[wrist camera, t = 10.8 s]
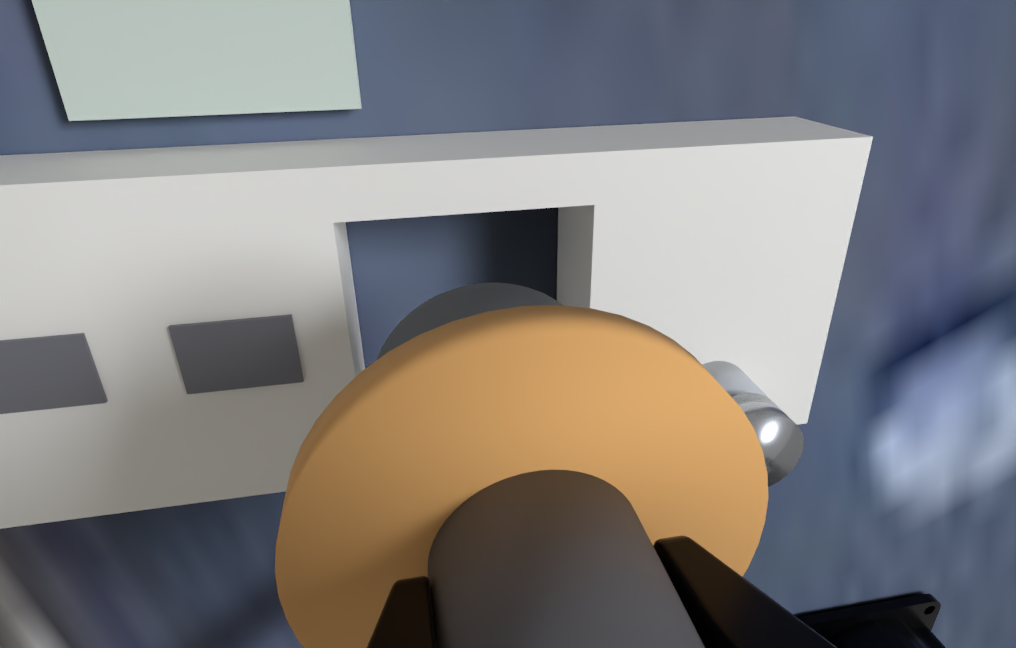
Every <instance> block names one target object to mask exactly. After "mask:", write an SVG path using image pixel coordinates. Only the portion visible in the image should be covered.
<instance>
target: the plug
mask: <svg viewBox="0 0 1016 648" xmlns="http://www.w3.org/2000/svg"><path fill="white" fill-rule="evenodd" d="M767 503H768V474H767V469H766V464H765V459H764V454H763V450H762V447H761V445H760V442H759V440H758V437H757V435H756V432H755V430H754V428H753V426H752V425H751V423H750V421H749V420H748V418H747V416H746V415H745V413H744V412H743V410H742V408H741V407H740V406H739V405H738V404H737V403H736V402H735V400H734V399H733V398H732V397H731V396H730V395H729V394H728V393H727V392H726V391H725V389H724V388H723V387H722V386H721V385H720V384H719V383H718V382H717V381H716V380H715V378H714V377H713V376H712V375H711V374H710V373H709V372H708V371H707V370H706V369H705V368H704V366H703V365H702V364H701V363H700V362H699V361H698V360H697V359H696V358H695V357H694V356H693V355H692V354H691V353H690V352H688V351H687V350H686V349H685V348H683V347H682V346H681V345H679V344H678V343H677V342H676V341H674V340H673V339H671V338H670V337H668V336H666V335H664V334H662V333H661V332H659V331H657V330H655V329H654V328H652V327H650V326H648V325H645V324H643V323H640V322H638V321H635V320H632V319H630V318H627V317H624V316H622V315H618V314H614V313H609V312H605V311H601V310H596V309H592V308H584V307H573V306H563V305H562V304H560V303H559V302H558V301H556V300H555V299H553V298H551V297H549V296H548V295H546V294H544V293H542V292H539V291H537V290H534V289H531V288H529V287H524V286H520V285H516V284H507V283H480V284H473V285H467V286H463V287H459V288H456V289H452V290H450V291H447V292H445V293H442V294H440V295H437V296H435V297H434V298H432V299H430V300H428V301H426V302H425V303H423V304H421V305H420V306H419V307H417V308H416V309H415V310H413V311H412V312H411V313H409V314H408V315H407V316H406V317H405V318H404V319H403V320H402V321H401V322H400V323H399V324H398V325H397V327H396V328H395V329H394V330H393V331H392V333H391V334H390V335H389V337H388V339H387V340H386V342H385V344H384V345H383V347H382V349H381V351H380V354H379V356H378V358H377V361H375V362H374V363H373V364H371V365H370V366H368V367H367V368H366V369H364V370H363V371H361V372H360V373H359V374H358V375H357V376H356V377H355V378H354V379H353V380H352V381H351V382H350V383H349V384H347V385H346V386H345V387H344V388H343V389H342V390H341V391H340V392H339V393H338V394H337V395H336V396H335V397H334V398H333V400H332V401H331V402H330V403H329V405H328V406H327V407H326V408H325V410H324V411H323V412H322V413H321V415H320V416H319V417H318V418H317V420H316V421H315V423H314V424H313V426H312V428H311V430H310V431H309V433H308V435H307V436H306V438H305V440H304V441H303V443H302V445H301V447H300V449H299V452H298V454H297V457H296V459H295V462H294V464H293V467H292V469H291V472H290V476H289V480H288V485H287V489H286V494H285V499H284V504H283V509H282V515H281V520H280V525H279V531H278V536H277V541H276V554H275V576H276V583H277V590H278V596H279V600H280V602H281V605H282V608H283V611H284V614H285V617H286V619H287V622H288V623H289V625H290V627H291V629H292V630H293V632H294V634H295V636H296V637H297V639H298V641H299V642H300V643H301V645H302V646H303V647H304V648H367V646H368V643H369V641H370V638H371V636H372V634H373V631H374V629H375V626H376V624H377V622H378V619H379V617H380V614H381V612H382V610H383V607H384V605H385V602H386V600H387V597H388V595H389V593H390V590H391V588H392V586H393V584H394V583H395V582H396V581H397V580H400V579H407V578H413V577H419V576H426V577H428V578H429V580H430V586H431V597H432V607H433V618H434V628H435V639H436V648H705V646H704V644H703V642H702V640H701V638H700V636H699V634H698V632H697V630H696V628H695V626H694V624H693V622H692V621H691V619H690V617H689V615H688V613H687V611H686V609H685V607H684V605H683V603H682V601H681V599H680V597H679V595H678V593H677V591H676V589H675V588H674V586H673V584H672V582H671V580H670V578H669V576H668V574H667V572H666V570H665V568H664V566H663V564H662V562H661V560H660V558H659V556H658V555H657V553H656V551H655V549H654V547H653V545H654V543H655V541H656V540H658V539H662V538H668V537H674V536H687V537H689V538H691V539H693V540H694V541H695V542H697V543H698V544H699V545H701V546H702V547H703V548H705V549H706V550H707V551H709V552H710V553H711V554H713V555H714V556H715V557H717V558H718V559H719V560H721V561H722V562H723V563H725V564H726V565H727V566H729V567H730V568H731V569H733V570H734V571H735V572H737V573H738V574H739V575H741V576H742V577H743V575H744V573H745V572H746V570H747V568H748V567H749V564H750V562H751V560H752V557H753V555H754V553H755V551H756V548H757V546H758V544H759V540H760V537H761V533H762V530H763V527H764V523H765V518H766V510H767Z"/></svg>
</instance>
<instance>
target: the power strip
mask: <svg viewBox="0 0 1016 648" xmlns="http://www.w3.org/2000/svg"><path fill="white" fill-rule="evenodd" d="M872 139H873V137H872V136H868V135H864V134H861V133H857V132H853V131H849V130H845V129H841V128H837V127H833V126H829V125H825V124H822V123H818V122H814V121H810V120H806V119H802V118H798V117H774V118H754V119H733V120H713V121H693V122H672V123H652V124H632V125H612V126H591V127H571V128H551V129H530V130H510V131H490V132H469V133H449V134H429V135H408V136H388V137H368V138H347V139H327V140H307V141H286V142H266V143H246V144H225V145H205V146H185V147H165V148H144V149H124V150H104V151H83V152H63V153H43V154H22V155H2V156H0V529H2V528H10V527H17V526H25V525H33V524H40V523H48V522H55V521H63V520H71V519H78V518H86V517H94V516H101V515H109V514H117V513H124V512H132V511H140V510H147V509H155V508H163V507H170V506H178V505H185V504H193V503H201V502H208V501H216V500H224V499H231V498H239V497H247V496H254V495H262V494H270V493H277V492H285V491H286V489H287V485H288V480H289V476H290V472H291V469H292V467H293V464H294V462H295V459H296V457H297V454H298V452H299V449H300V447H301V445H302V443H303V441H304V440H305V438H306V436H307V435H308V433H309V431H310V430H311V428H312V426H313V424H314V423H315V421H316V420H317V418H318V417H319V416H320V415H321V413H322V412H323V411H324V410H325V408H326V407H327V406H328V405H329V403H330V402H331V401H332V400H333V398H334V397H335V396H336V395H337V394H338V393H339V392H340V391H341V390H342V389H343V388H344V387H345V386H346V385H347V384H349V383H350V382H351V381H352V380H353V379H354V378H355V377H356V376H357V375H358V374H359V373H360V372H361V371H363V370H364V369H365V364H364V357H363V349H362V342H361V334H360V327H359V319H358V312H357V305H356V297H355V290H354V282H353V275H352V267H351V260H350V252H349V245H348V237H347V230H346V223H345V222H353V221H367V220H382V219H396V218H411V217H425V216H440V215H454V214H469V213H483V212H498V211H512V210H527V209H541V208H556V207H558V253H557V301H558V302H559V303H560V304H562V305H563V306H573V307H584V308H592V309H596V310H601V311H605V312H609V313H614V314H618V315H622V316H624V317H627V318H630V319H632V320H635V321H638V322H640V323H643V324H645V325H648V326H650V327H652V328H654V329H655V330H657V331H659V332H661V333H662V334H664V335H666V336H668V337H670V338H671V339H673V340H674V341H676V342H677V343H678V344H679V345H681V346H682V347H683V348H685V349H686V350H687V351H688V352H690V353H691V354H692V355H693V356H694V357H695V358H696V359H697V360H698V361H699V362H700V363H701V364H702V365H703V366H704V368H705V369H706V370H707V371H708V372H709V373H710V374H711V375H712V376H713V377H714V378H715V380H716V381H717V382H718V383H719V384H720V385H721V386H722V387H723V388H724V389H725V391H726V392H727V393H728V394H729V395H730V396H731V397H732V396H735V395H738V394H743V393H758V394H762V395H765V396H767V397H768V398H770V399H771V400H772V401H773V402H774V403H775V404H776V405H777V406H778V407H779V408H780V409H781V410H782V411H783V412H784V413H785V414H786V415H787V416H788V417H789V418H790V419H791V420H792V421H793V422H794V423H795V424H796V425H797V424H805V423H807V421H808V417H809V413H810V408H811V404H812V399H813V395H814V391H815V386H816V382H817V378H818V373H819V369H820V365H821V360H822V356H823V352H824V347H825V343H826V339H827V334H828V330H829V326H830V321H831V317H832V313H833V308H834V304H835V300H836V295H837V291H838V287H839V282H840V278H841V274H842V269H843V265H844V261H845V256H846V252H847V248H848V243H849V239H850V235H851V230H852V226H853V222H854V217H855V213H856V209H857V204H858V200H859V196H860V191H861V187H862V182H863V178H864V174H865V169H866V165H867V161H868V156H869V152H870V148H871V143H872Z"/></svg>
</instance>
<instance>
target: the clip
mask: <svg viewBox="0 0 1016 648" xmlns="http://www.w3.org/2000/svg"><path fill="white" fill-rule="evenodd" d="M732 398H733V399H734V400H735V402H736V403H737V404H738V405H739V406H740V407H741V408H742V410H743V412H744V413H745V415H746V416H747V418H748V420H749V421H750V423H751V425H752V426H753V428H754V430H755V432H756V435H757V437H758V440H759V442H760V445H761V447H762V450H763V454H764V459H765V464H766V469H767V474H768V487H769V486H771V485H773V484H775V483H777V482H778V481H780V480H781V479H782V478H784V477H785V476H786V475H787V474H788V473H789V472H790V471H791V470H792V469H793V468H794V467H795V465H796V464H797V462H798V461H799V459H800V457H801V454H802V451H803V446H804V439H803V434H802V432H801V430H800V428H799V427H798V426H797V425H796V424H795V423H794V422H793V421H792V420H791V419H790V418H789V417H788V416H787V415H786V414H785V413H784V412H783V411H782V410H781V409H780V408H779V407H778V406H777V405H776V404H775V403H774V402H773V401H772V400H771V399H770V398H768V397H767V396H765V395H762V394H758V393H743V394H738V395H735V396H732Z"/></svg>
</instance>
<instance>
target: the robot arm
mask: <svg viewBox="0 0 1016 648" xmlns="http://www.w3.org/2000/svg"><path fill="white" fill-rule="evenodd" d="M653 547H654V549H655V551H656V553H657V555H658V556H659V558H660V560H661V562H662V564H663V566H664V568H665V570H666V572H667V574H668V576H669V578H670V580H671V582H672V584H673V586H674V588H675V589H676V591H677V593H678V595H679V597H680V599H681V601H682V603H683V605H684V607H685V609H686V611H687V613H688V615H689V617H690V619H691V621H692V622H693V624H694V626H695V628H696V630H697V632H698V634H699V636H700V638H701V640H702V642H703V644H704V646H705V648H945V646H944V645H943V644H942V643H941V642H940V641H939V640H938V639H937V638H936V636H935V635H934V634H933V633H932V632H931V630H932V627H933V625H934V622H935V620H936V617H937V615H938V612H939V610H940V606H941V605H940V603H939V602H938V601H937V600H936V599H935V598H934V597H933V596H932V595H931V594H922V595H917V596H911V597H906V598H900V599H895V600H889V601H884V602H878V603H873V604H867V605H862V606H856V607H851V608H845V609H840V610H834V611H829V612H824V613H818V614H813V615H807V616H803V617H800V618H799V619H798V618H797V617H796V616H794V615H793V614H792V613H790V612H789V611H788V610H786V609H785V608H784V607H782V606H781V605H779V604H778V603H777V602H775V601H774V600H773V599H771V598H770V597H769V596H767V595H766V594H765V593H763V592H762V591H761V590H759V589H758V588H757V587H755V586H754V585H753V584H751V583H750V582H749V581H747V580H746V579H745V578H743V577H742V576H741V575H739V574H738V573H737V572H735V571H734V570H733V569H731V568H730V567H729V566H727V565H726V564H725V563H723V562H722V561H721V560H719V559H718V558H717V557H715V556H714V555H713V554H711V553H710V552H709V551H707V550H706V549H705V548H703V547H702V546H701V545H699V544H698V543H697V542H695V541H694V540H693V539H691V538H689V537H687V536H674V537H668V538H662V539H658V540H656V541H655V543H654V545H653ZM367 648H436V639H435V628H434V618H433V607H432V597H431V586H430V580H429V578H428V577H426V576H419V577H413V578H407V579H400V580H397V581H396V582H395V583H394V584H393V586H392V588H391V590H390V593H389V595H388V597H387V600H386V602H385V605H384V607H383V610H382V612H381V614H380V617H379V619H378V622H377V624H376V626H375V629H374V631H373V634H372V636H371V638H370V641H369V643H368V646H367Z"/></svg>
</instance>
